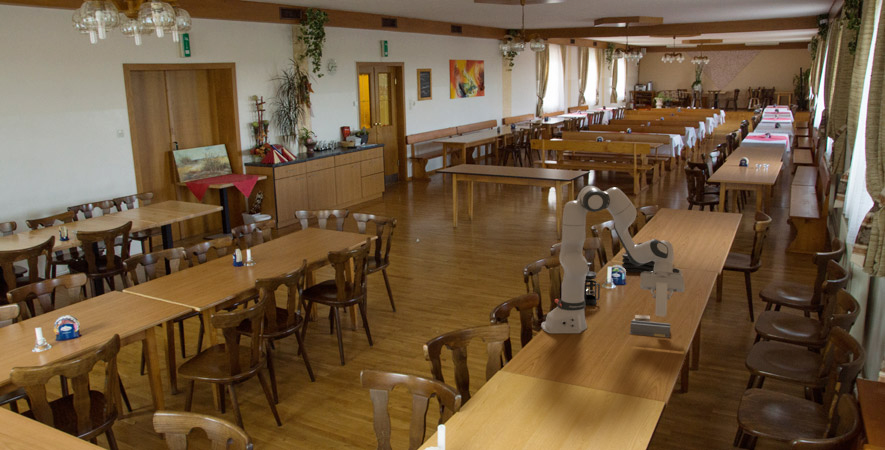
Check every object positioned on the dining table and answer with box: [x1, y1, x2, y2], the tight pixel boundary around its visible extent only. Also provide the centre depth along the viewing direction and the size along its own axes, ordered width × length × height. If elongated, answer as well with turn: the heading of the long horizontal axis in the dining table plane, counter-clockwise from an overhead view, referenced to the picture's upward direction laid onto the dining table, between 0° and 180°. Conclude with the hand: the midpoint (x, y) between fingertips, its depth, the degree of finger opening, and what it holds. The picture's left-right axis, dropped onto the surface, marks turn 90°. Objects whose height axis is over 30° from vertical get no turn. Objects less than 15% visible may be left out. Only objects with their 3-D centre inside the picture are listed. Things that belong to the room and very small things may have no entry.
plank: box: [654, 282, 668, 317], centre depth 316 cm, size 5×2×16 cm, turn 70°
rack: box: [629, 319, 671, 338], centre depth 322 cm, size 18×14×5 cm
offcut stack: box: [632, 314, 651, 322], centre depth 327 cm, size 8×5×5 cm, turn 70°
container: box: [621, 242, 655, 274], centre depth 430 cm, size 22×35×13 cm, turn 148°
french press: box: [584, 261, 601, 307], centre depth 364 cm, size 12×9×23 cm
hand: (661, 298), depth 315 cm, fingers closed on plank, 5 cm apart
